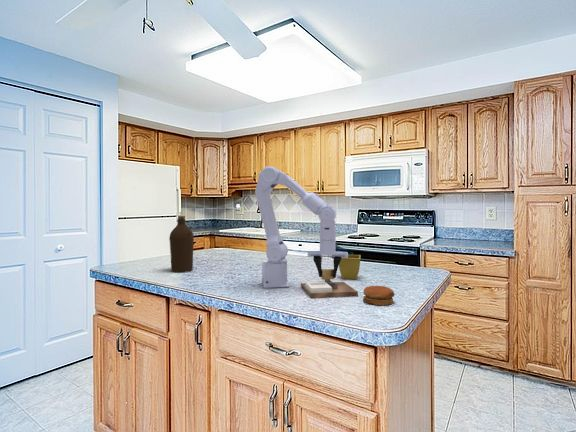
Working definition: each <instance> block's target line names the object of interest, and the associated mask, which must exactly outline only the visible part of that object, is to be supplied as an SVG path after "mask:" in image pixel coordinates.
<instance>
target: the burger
mask: <svg viewBox="0 0 576 432" xmlns="http://www.w3.org/2000/svg"><path fill="white" fill-rule="evenodd" d="M362 291H363V295H364V296H363V297H362V300H363V302H364V303H368V304H370V305H375V306H390V305H393V304H394V303H393V302H394V297H395V292H394V290H393V289H392V288H390V287H388V286H384V285H383V286H382V285H368V286H366V287H364V288H363V290H362Z"/></svg>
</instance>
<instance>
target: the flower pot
mask: <svg viewBox="0 0 576 432" xmlns="http://www.w3.org/2000/svg"><path fill="white" fill-rule="evenodd" d="M360 266H361V254H348V258H342V259H341V261H340V263H339V266H338V268H339V269H338V270H339V273H340V276H341V277H342V279H344V280H346V279H347V280H352V279H353V280H356V279H357V278H358V275H359V272H360Z"/></svg>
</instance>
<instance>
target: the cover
mask: <svg viewBox="0 0 576 432" xmlns="http://www.w3.org/2000/svg"><path fill="white" fill-rule="evenodd" d="M304 283H305V287H306V288H307V289H308V290H309V291H310V292H311V293H321V292H332V287H331V286H330V285H328V284H327V283H326V282H325V280H317V281H316V280H315V281H304Z"/></svg>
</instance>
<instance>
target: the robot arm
mask: <svg viewBox="0 0 576 432" xmlns="http://www.w3.org/2000/svg"><path fill="white" fill-rule="evenodd" d="M278 185H281V186H285V187H286V188H287V189H289V190H290V191H291V192H293V193H294V194H295V195H296V196H298V197H299V198H300V199H301V200H302V205H304V206H305V207H306V208H307V209H308V210H309V211H310V212H312V214H314V215H315V216H318V220H319V221H320V222H319V223H320V225H319V250H308V251H307V258H311V257H312V260H313V263H314V264H315V266H316V269H317V272H318V278H321V269H322V260H323V258H333V269H334V273H333V278H334V279H336V278H337V272H338V270H339V269H338V268H339V263H340V261H341V259H342V258H348V255H349V253H348V252H347V251H336V244H337V243H336V237H337V236H336V234H337V233H336V231H337V230H336V221H335V219H336V218H337V213H336V209H334V207H332V206H329V205H330V203H329V202H325V201H324V199H322V198H320V195H319V194H318V193H317V192H316V193H315V192H312V191H311V192H308V191H307V190H305V188H303V186H301V185H300V184H299V183H298V182H297V181H295V180H294V179H293V178H292V177H291V176H289V175H288V174H287V173H284V172H283V171H281V170H280V169H279V168H275V167H274V166H272V165H267V166H265V167H263V168H262V169H261V171H260V172H259V173H258V178H257V183H256V187H255V190H254V191H255V192H254V193H255V197H256V201H257V205H258V208H259V209H258V210H259V213H260V216H261V221H262V223H263V228H264V232H265V235H266V242H265V244H266V253H265V255H266V258H267V261H266V262H262V263H261V284H262V286H263V288H264V289H269V288H270V289H272V288H290V287H291V286H290V284H289V283H288V260H287V258H286V257H287V256H288V252H289V249H288V246H287V245H286V244H285V243H284V238H283V237H282V235H281V233H280V230H279V226H278V223H277V218H276V215H275V211H274V207H273V203H272V198H271V193H272V192H273V190H274V188H275V187H276V186H278Z"/></svg>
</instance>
